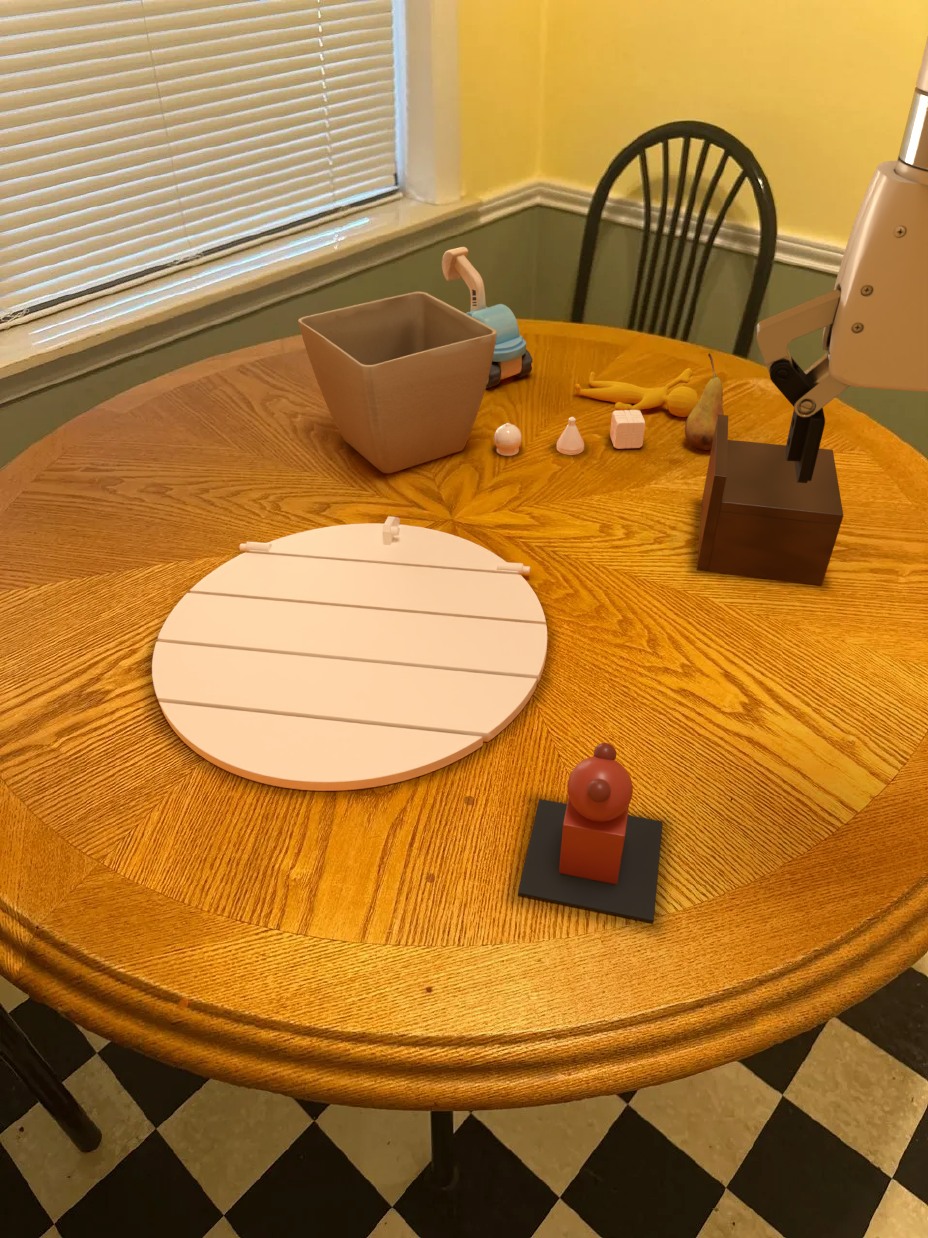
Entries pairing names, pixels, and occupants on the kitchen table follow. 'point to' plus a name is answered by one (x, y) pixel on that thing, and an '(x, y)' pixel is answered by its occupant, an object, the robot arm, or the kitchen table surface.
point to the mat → (620, 899)
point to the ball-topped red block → (596, 817)
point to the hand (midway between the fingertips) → (891, 477)
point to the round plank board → (350, 656)
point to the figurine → (645, 395)
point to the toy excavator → (490, 320)
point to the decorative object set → (623, 434)
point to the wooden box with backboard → (767, 512)
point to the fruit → (705, 414)
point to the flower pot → (401, 376)
